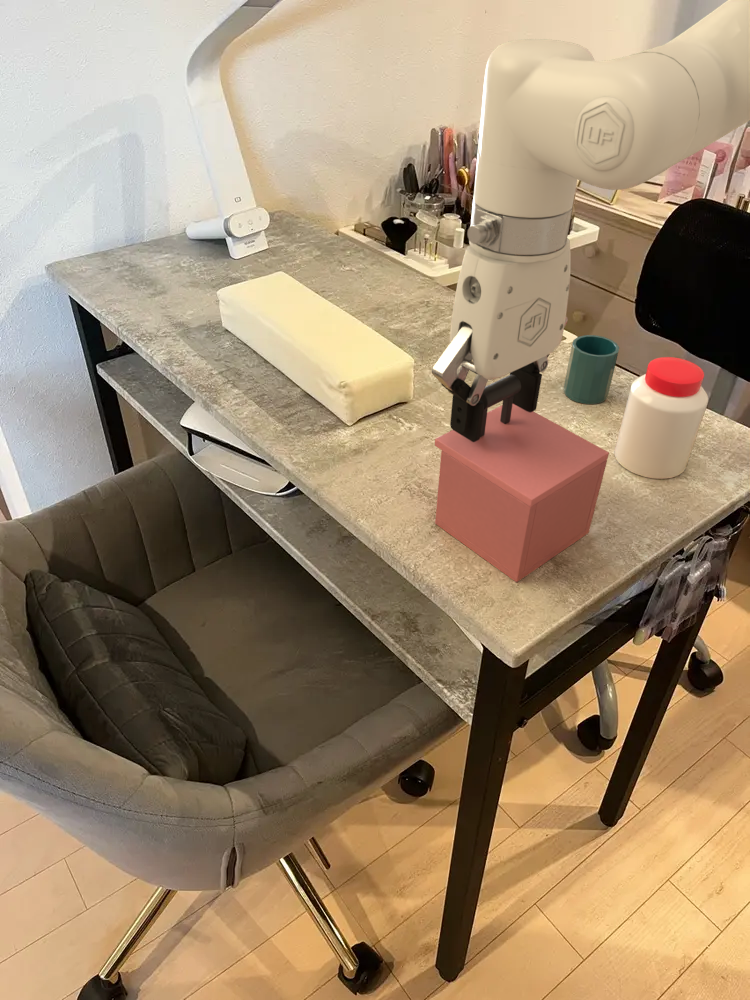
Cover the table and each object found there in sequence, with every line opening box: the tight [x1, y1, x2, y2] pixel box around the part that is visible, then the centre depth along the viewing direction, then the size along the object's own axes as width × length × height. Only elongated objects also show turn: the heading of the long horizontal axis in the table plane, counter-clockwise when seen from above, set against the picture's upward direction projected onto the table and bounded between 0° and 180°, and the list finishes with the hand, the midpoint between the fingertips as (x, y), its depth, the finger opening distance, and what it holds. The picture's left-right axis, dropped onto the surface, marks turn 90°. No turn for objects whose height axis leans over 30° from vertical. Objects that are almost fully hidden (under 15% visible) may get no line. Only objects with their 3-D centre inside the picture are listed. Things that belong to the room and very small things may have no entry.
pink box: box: [434, 450, 608, 583], centre depth 72 cm, size 11×11×9 cm
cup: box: [563, 334, 620, 405], centre depth 93 cm, size 5×5×6 cm
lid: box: [434, 374, 610, 507], centre depth 68 cm, size 12×11×6 cm
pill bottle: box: [613, 356, 709, 480], centre depth 81 cm, size 8×8×11 cm
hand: (493, 418), depth 71 cm, fingers open, 6 cm apart
